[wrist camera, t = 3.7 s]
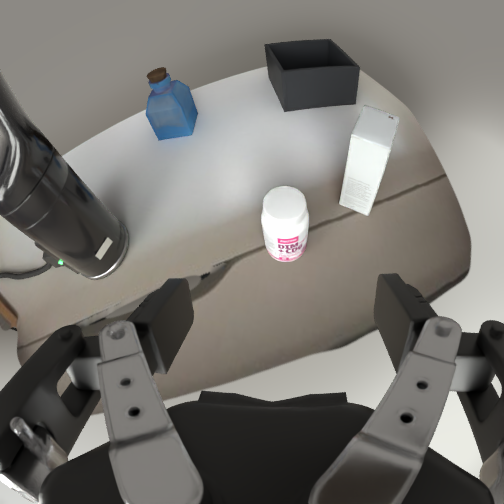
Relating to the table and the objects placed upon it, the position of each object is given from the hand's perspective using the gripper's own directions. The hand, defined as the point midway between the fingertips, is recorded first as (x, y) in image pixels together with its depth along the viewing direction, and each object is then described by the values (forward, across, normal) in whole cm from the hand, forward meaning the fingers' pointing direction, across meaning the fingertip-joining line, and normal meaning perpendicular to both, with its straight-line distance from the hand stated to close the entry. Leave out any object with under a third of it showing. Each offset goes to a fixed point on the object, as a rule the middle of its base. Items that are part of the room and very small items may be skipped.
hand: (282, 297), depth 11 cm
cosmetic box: (+26, -10, 0) cm, 28 cm away
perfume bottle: (+38, +18, -12) cm, 44 cm away
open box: (+44, -6, -18) cm, 48 cm away
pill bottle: (+21, 0, +5) cm, 22 cm away
